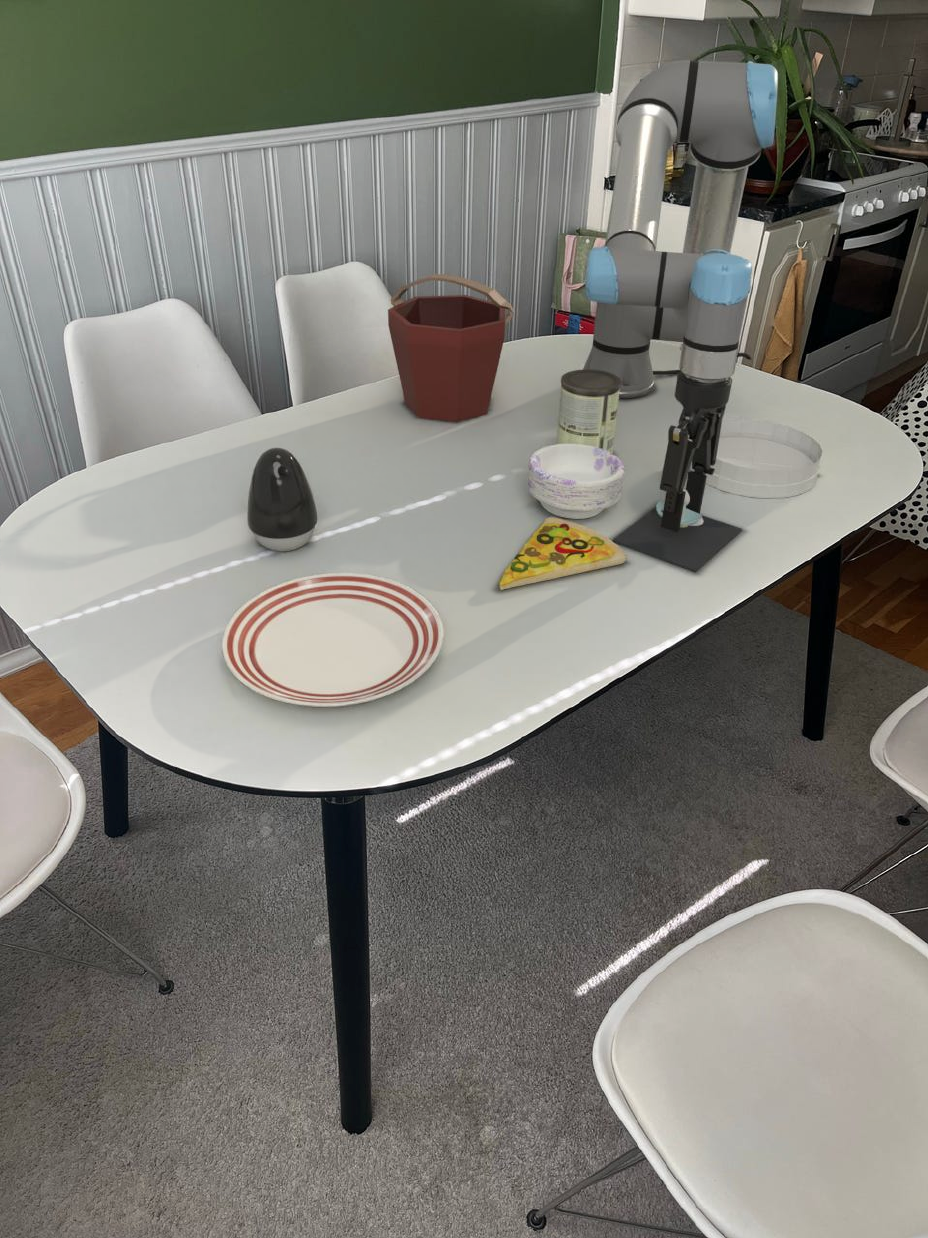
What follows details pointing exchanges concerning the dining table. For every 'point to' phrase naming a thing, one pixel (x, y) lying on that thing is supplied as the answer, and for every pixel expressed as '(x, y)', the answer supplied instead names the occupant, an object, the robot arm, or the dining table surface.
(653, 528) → the placemat
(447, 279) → the bucket
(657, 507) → the pacifier
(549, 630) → the dining table surface
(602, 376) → the coffee can
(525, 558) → the pizza slice
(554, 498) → the paper bowls
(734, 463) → the dish
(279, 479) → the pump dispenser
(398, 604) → the dinner plate
